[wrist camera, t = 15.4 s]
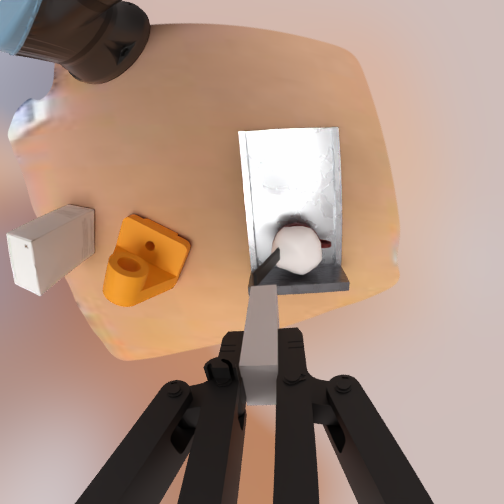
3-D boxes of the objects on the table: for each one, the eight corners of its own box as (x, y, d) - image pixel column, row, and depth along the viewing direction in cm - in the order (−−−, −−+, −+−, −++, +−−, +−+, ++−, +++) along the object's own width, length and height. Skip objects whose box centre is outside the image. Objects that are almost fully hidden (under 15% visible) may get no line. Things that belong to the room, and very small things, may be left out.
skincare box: (69, 203, 39) (4, 229, 25) (97, 209, 39) (31, 239, 25) (70, 247, 42) (12, 284, 28) (96, 255, 42) (39, 298, 28)
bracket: (194, 241, 40) (164, 276, 29) (178, 280, 42) (148, 323, 31) (133, 210, 39) (87, 234, 28) (121, 250, 41) (79, 282, 30)
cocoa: (329, 229, 37) (358, 259, 26) (313, 269, 39) (333, 313, 28) (264, 206, 36) (267, 229, 25) (250, 249, 38) (246, 289, 27)
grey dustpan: (240, 132, 34) (232, 128, 27) (334, 128, 33) (348, 123, 26) (253, 272, 41) (248, 296, 34) (337, 268, 39) (348, 290, 33)
